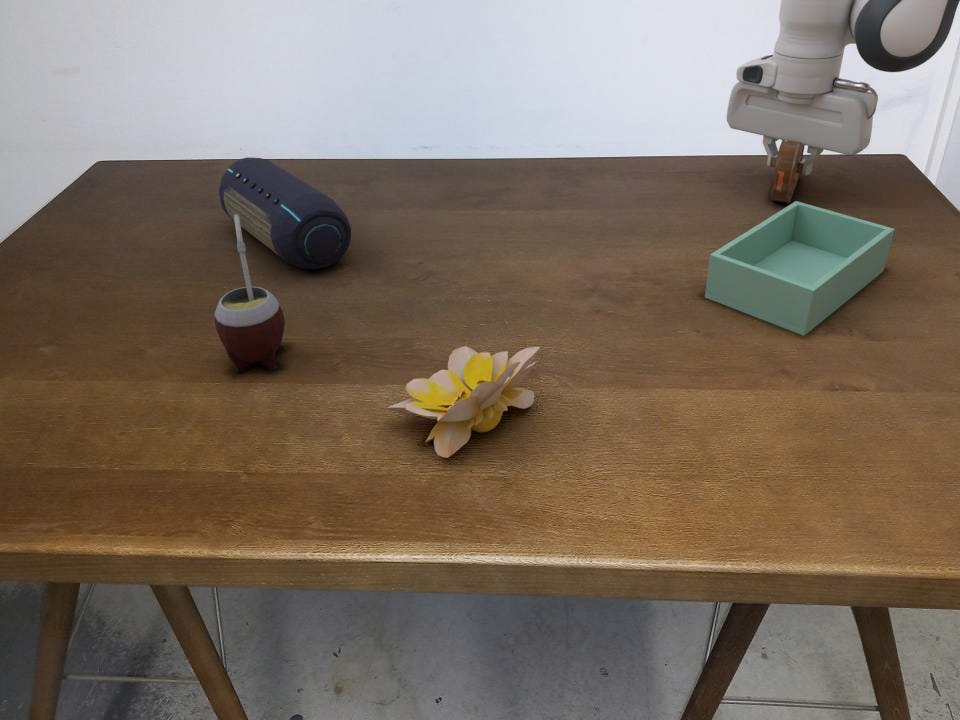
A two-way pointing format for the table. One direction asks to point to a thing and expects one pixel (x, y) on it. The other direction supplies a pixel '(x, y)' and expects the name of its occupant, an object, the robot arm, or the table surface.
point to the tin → (786, 170)
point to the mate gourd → (249, 321)
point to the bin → (798, 265)
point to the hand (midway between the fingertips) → (788, 169)
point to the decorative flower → (469, 395)
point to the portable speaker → (285, 213)
